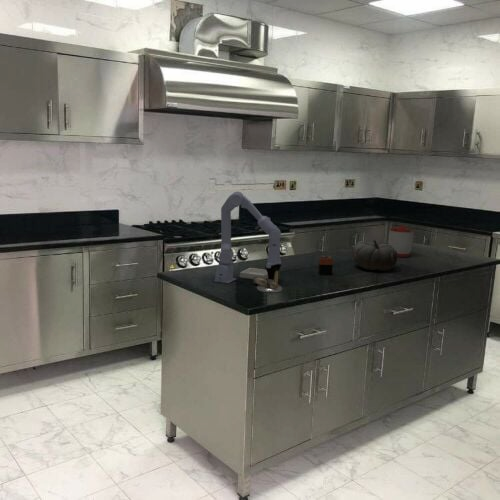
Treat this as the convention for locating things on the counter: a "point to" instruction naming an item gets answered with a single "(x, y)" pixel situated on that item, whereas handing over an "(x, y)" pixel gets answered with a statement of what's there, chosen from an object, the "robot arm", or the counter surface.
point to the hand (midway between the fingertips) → (272, 279)
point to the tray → (254, 273)
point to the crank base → (268, 289)
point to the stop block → (275, 277)
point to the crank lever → (266, 282)
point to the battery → (325, 265)
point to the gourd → (375, 256)
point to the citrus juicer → (401, 240)
